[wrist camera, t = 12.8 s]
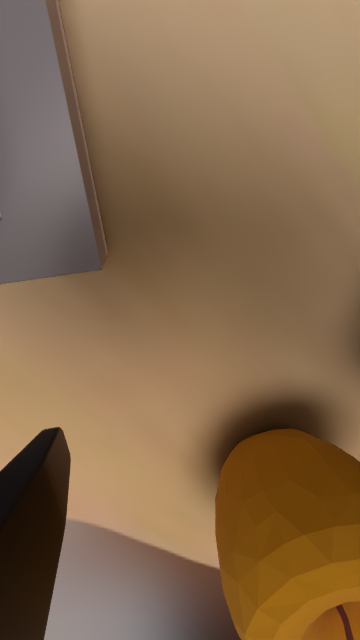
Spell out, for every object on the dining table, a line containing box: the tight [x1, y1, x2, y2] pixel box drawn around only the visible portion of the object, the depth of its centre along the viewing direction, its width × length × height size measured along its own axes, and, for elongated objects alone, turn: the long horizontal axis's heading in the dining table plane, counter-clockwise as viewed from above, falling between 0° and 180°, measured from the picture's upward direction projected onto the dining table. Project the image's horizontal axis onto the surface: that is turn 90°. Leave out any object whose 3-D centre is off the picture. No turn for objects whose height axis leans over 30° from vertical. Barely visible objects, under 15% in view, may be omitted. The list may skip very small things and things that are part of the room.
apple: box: [215, 428, 360, 640], centre depth 21 cm, size 11×11×13 cm
